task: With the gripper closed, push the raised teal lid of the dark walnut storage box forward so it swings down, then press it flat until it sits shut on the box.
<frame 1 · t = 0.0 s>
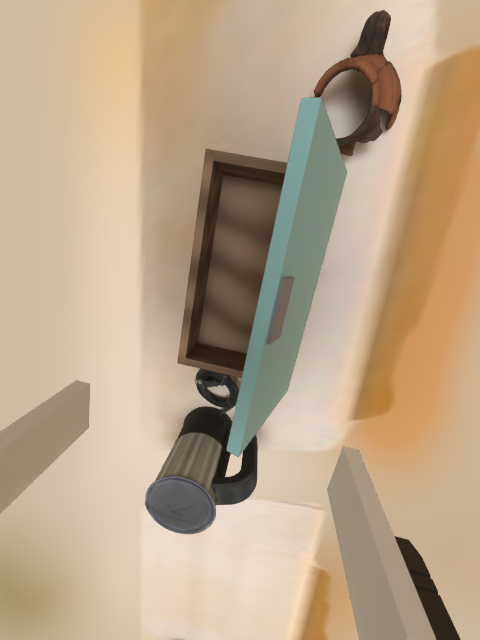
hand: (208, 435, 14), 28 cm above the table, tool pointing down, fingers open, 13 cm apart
lid: (293, 299, 25), point 14 cm above the table, hinge at 70.0°
storage box: (251, 273, 39), on the table
milk frother: (212, 408, 46), on the table
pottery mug: (352, 107, 32), on the table
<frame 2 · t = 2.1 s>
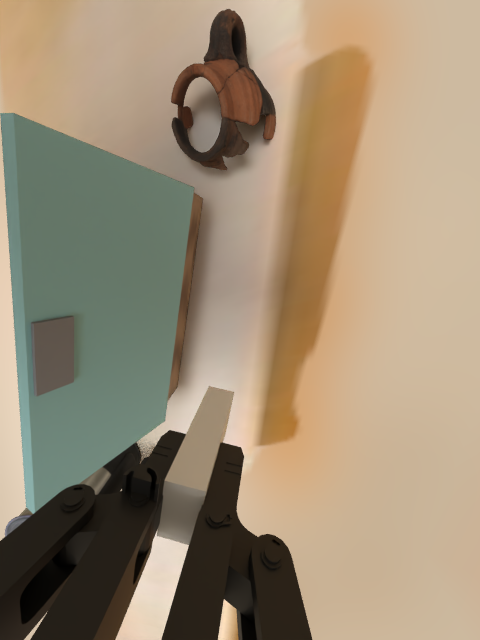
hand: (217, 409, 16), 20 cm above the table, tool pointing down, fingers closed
lid: (119, 333, 23), point 14 cm above the table, hinge at 70.0°
storage box: (138, 291, 36), on the table
milk frother: (116, 430, 44), on the table
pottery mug: (231, 116, 29), on the table
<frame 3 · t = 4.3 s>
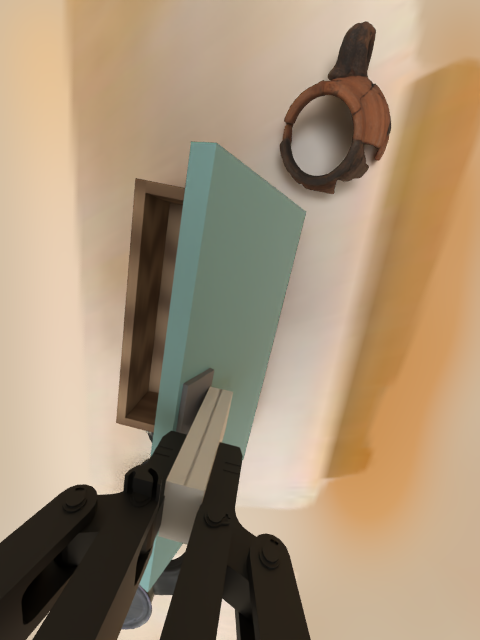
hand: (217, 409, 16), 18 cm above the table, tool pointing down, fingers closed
lid: (231, 376, 20), point 14 cm above the table, hinge at 69.1°, touching gripper
storage box: (207, 315, 34), on the table
milk frother: (168, 458, 41), on the table
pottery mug: (333, 134, 27), on the table
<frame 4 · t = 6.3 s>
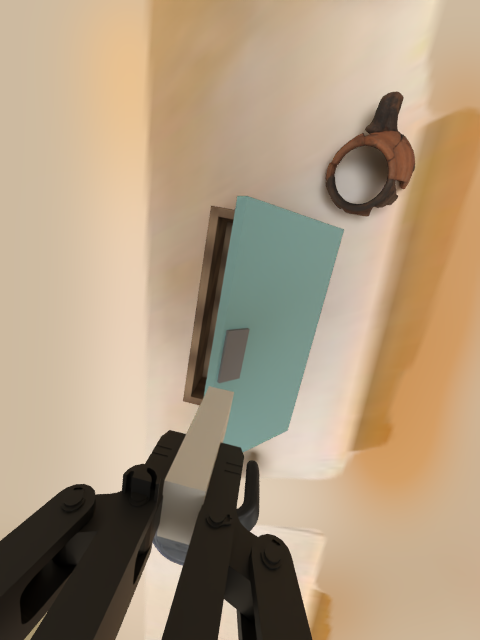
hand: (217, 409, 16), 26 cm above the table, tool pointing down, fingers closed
lid: (270, 346, 28), point 13 cm above the table, hinge at 47.1°
storage box: (253, 312, 40), on the table
milk frother: (215, 436, 47), on the table
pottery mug: (366, 168, 34), on the table
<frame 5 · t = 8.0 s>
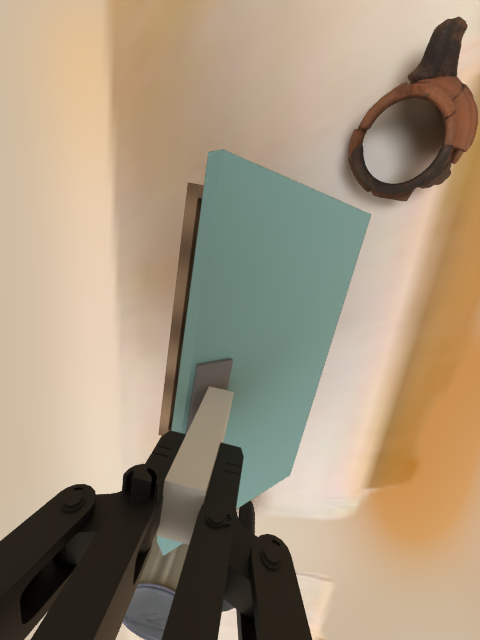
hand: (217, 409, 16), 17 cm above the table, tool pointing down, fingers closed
lid: (266, 376, 20), point 13 cm above the table, hinge at 45.9°, touching gripper
storage box: (248, 322, 32), on the table
milk frother: (202, 466, 40), on the table
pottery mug: (401, 137, 26), on the table
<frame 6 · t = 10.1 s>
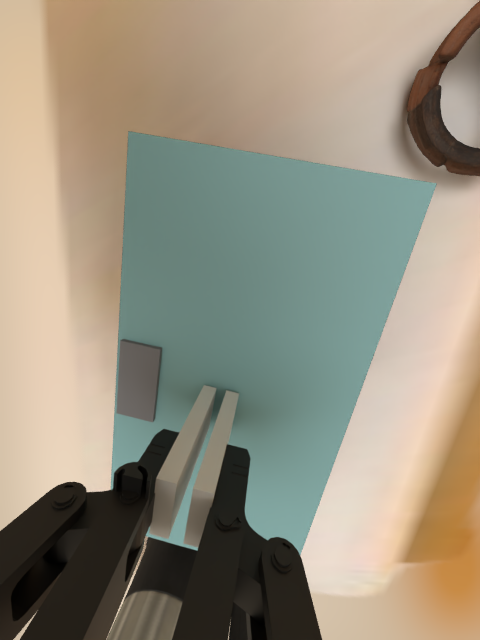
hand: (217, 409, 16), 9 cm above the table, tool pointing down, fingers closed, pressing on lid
lid: (228, 397, 16), point 8 cm above the table, hinge at 0.6°, touching gripper
milk frother: (188, 524, 31), on the table
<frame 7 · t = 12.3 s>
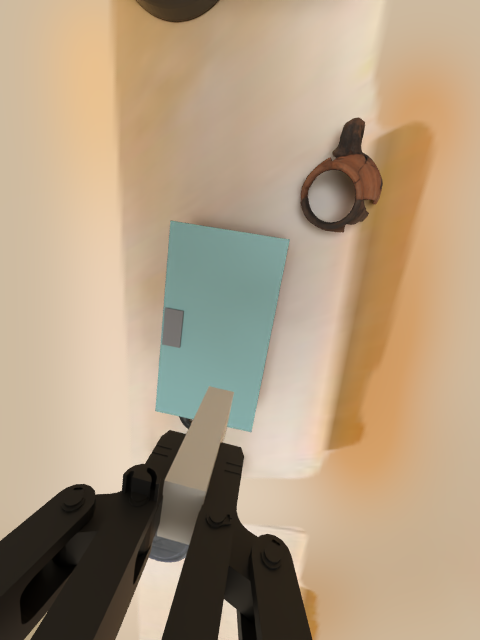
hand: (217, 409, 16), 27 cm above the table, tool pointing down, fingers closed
lid: (215, 334, 35), point 8 cm above the table, hinge at 0.1°
milk frother: (195, 437, 49), on the table
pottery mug: (338, 186, 36), on the table
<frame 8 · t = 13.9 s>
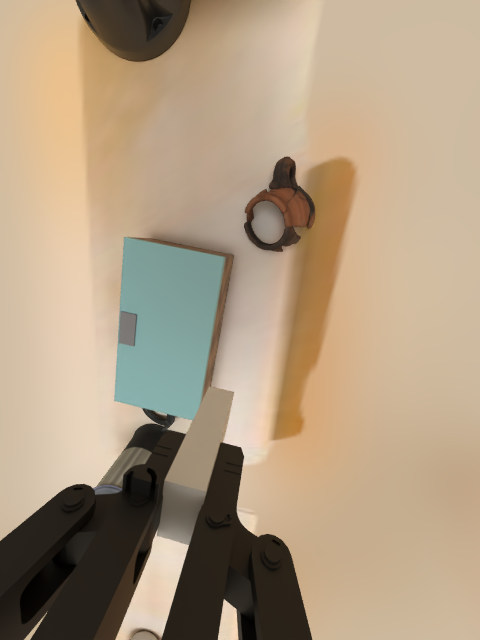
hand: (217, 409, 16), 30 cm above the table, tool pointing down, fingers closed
lid: (164, 335, 40), point 8 cm above the table, hinge at 0.1°
storage box: (182, 321, 47), on the table
pump dispenser: (148, 636, 74), on the table
milk frother: (157, 425, 54), on the table
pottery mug: (281, 210, 41), on the table
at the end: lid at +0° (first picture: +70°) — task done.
